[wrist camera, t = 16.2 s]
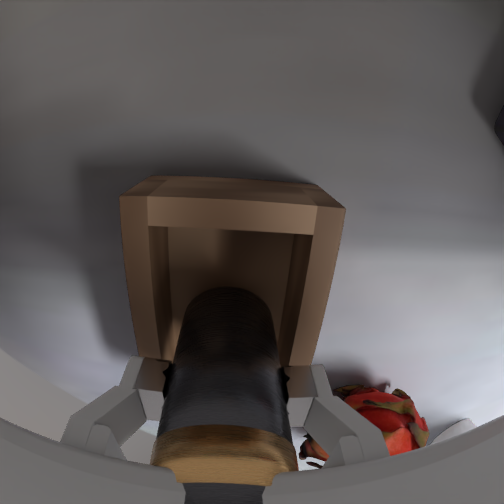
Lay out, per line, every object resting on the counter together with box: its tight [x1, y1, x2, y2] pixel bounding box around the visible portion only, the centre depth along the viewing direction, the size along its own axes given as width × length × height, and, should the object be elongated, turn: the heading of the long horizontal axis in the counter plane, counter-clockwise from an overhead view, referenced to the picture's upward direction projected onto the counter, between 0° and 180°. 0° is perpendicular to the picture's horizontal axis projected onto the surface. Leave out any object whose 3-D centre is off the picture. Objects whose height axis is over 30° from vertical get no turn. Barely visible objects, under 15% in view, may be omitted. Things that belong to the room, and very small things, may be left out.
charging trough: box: [119, 176, 346, 367], centre depth 14 cm, size 8×12×4 cm, turn 176°
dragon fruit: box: [299, 385, 429, 469], centre depth 17 cm, size 8×8×12 cm
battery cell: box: [150, 286, 299, 504], centre depth 9 cm, size 4×4×10 cm
